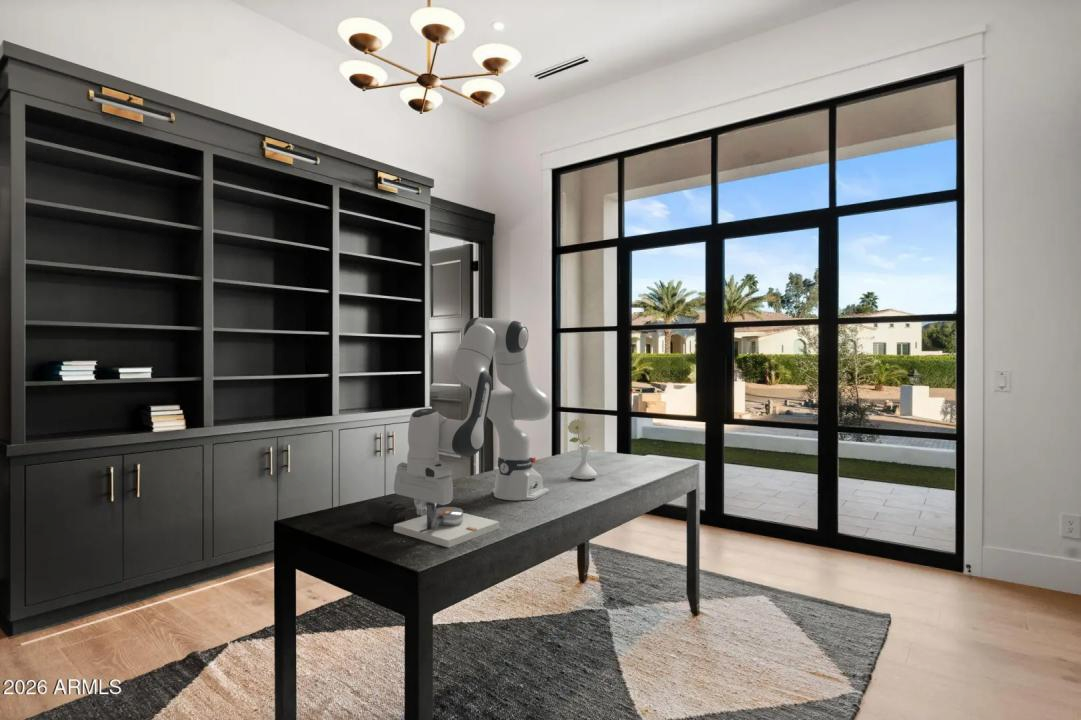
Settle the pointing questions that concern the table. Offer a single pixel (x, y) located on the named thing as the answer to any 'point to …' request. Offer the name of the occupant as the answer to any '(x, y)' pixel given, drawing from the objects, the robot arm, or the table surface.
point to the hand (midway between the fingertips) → (421, 514)
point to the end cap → (385, 513)
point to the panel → (447, 530)
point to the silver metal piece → (443, 516)
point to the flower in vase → (583, 468)
